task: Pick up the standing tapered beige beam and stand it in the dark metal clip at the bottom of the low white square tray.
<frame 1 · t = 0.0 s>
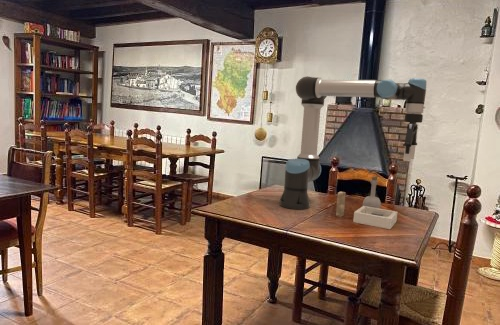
hand: (408, 159, 171), 28 cm above the table, fingers open, 13 cm apart
white square tray: (375, 221, 167), on the table
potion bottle: (371, 211, 186), on the table
tapered beige beam: (339, 215, 174), on the table
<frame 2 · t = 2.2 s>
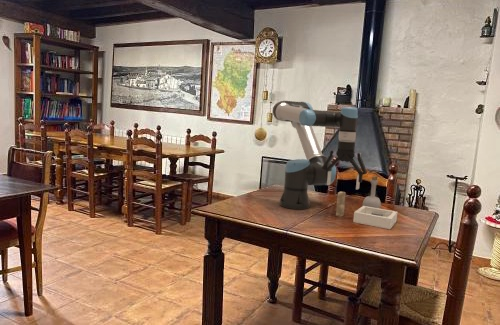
hand: (342, 187, 172), 14 cm above the table, fingers open, 13 cm apart
nothing on the table moved.
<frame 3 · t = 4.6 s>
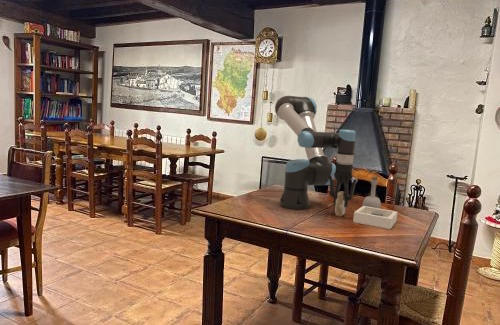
hand: (339, 212, 174), 1 cm above the table, fingers closed on tapered beige beam, 2 cm apart
tapered beige beam: (339, 215, 174), on the table, touching gripper
everything else where it was.
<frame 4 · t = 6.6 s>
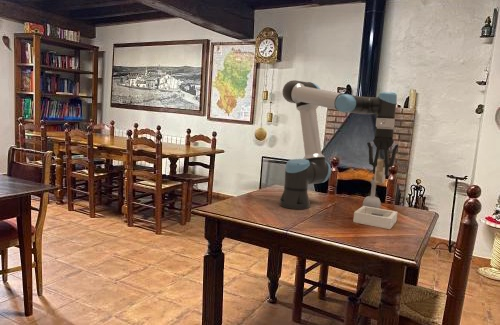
hand: (379, 181, 164), 18 cm above the table, fingers closed on tapered beige beam, 2 cm apart
tapered beige beam: (379, 183, 164), point 17 cm above the table, touching gripper
everything else where it was.
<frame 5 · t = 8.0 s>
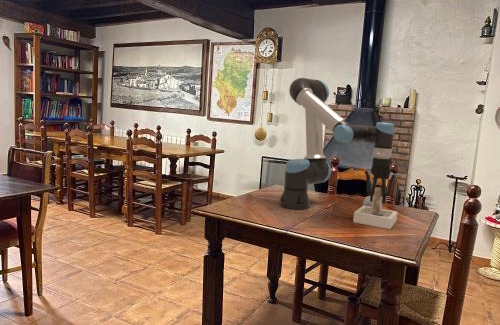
hand: (376, 209, 166), 6 cm above the table, fingers closed on tapered beige beam, 2 cm apart
tapered beige beam: (376, 212, 166), point 4 cm above the table, touching gripper
everything else where it was.
when the fingers open (4 cm above the table, at t = 8.8 s): tapered beige beam drops 1 cm, resting on white square tray.
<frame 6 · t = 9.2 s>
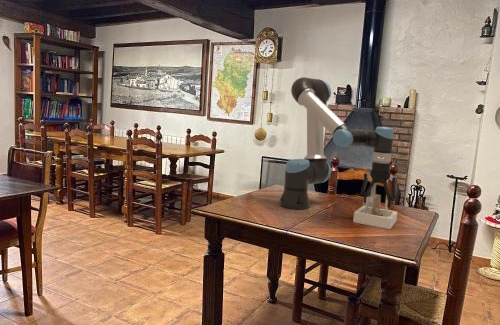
hand: (376, 212, 166), 4 cm above the table, fingers open, 8 cm apart
tapered beige beam: (375, 219, 167), point 1 cm above the table, touching white square tray
everything else where it was.
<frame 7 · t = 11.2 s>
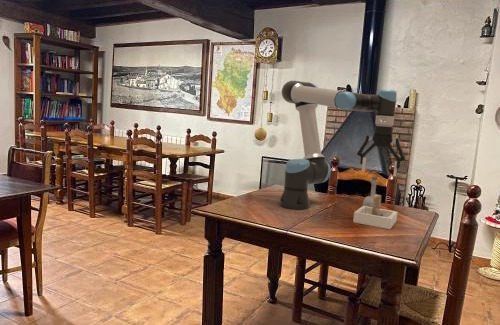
hand: (378, 173, 165), 22 cm above the table, fingers open, 13 cm apart
nothing on the table moved.
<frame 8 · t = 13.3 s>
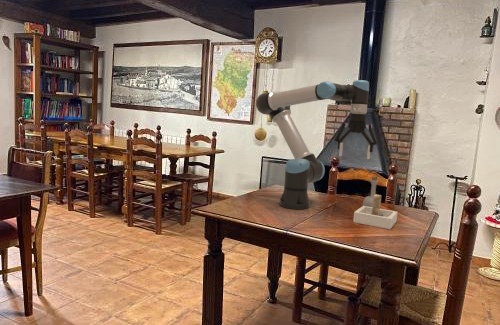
hand: (354, 157, 180), 27 cm above the table, fingers open, 13 cm apart
nothing on the table moved.
at the end: tapered beige beam 0.1 cm off-centre on the white square tray, point 1.0 cm above the white square tray's base; tapered beige beam tilted 0°; the gripper is holding nothing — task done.
